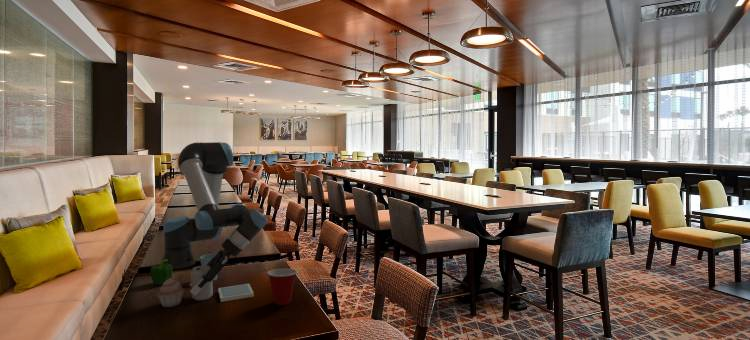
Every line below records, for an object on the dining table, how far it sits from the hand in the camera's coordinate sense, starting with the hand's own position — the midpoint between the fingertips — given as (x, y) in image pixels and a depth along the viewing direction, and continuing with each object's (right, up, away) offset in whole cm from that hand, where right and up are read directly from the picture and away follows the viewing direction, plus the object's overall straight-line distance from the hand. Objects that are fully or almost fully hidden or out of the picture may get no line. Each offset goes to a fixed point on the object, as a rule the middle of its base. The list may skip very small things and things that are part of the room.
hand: (192, 290), depth 157 cm
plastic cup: (+36, -4, -4) cm, 36 cm away
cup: (-3, -2, +23) cm, 24 cm away
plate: (+15, -3, +5) cm, 16 cm away
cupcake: (-6, -4, -4) cm, 8 cm away
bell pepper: (-21, -3, +19) cm, 29 cm away
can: (+3, -4, +2) cm, 5 cm away
